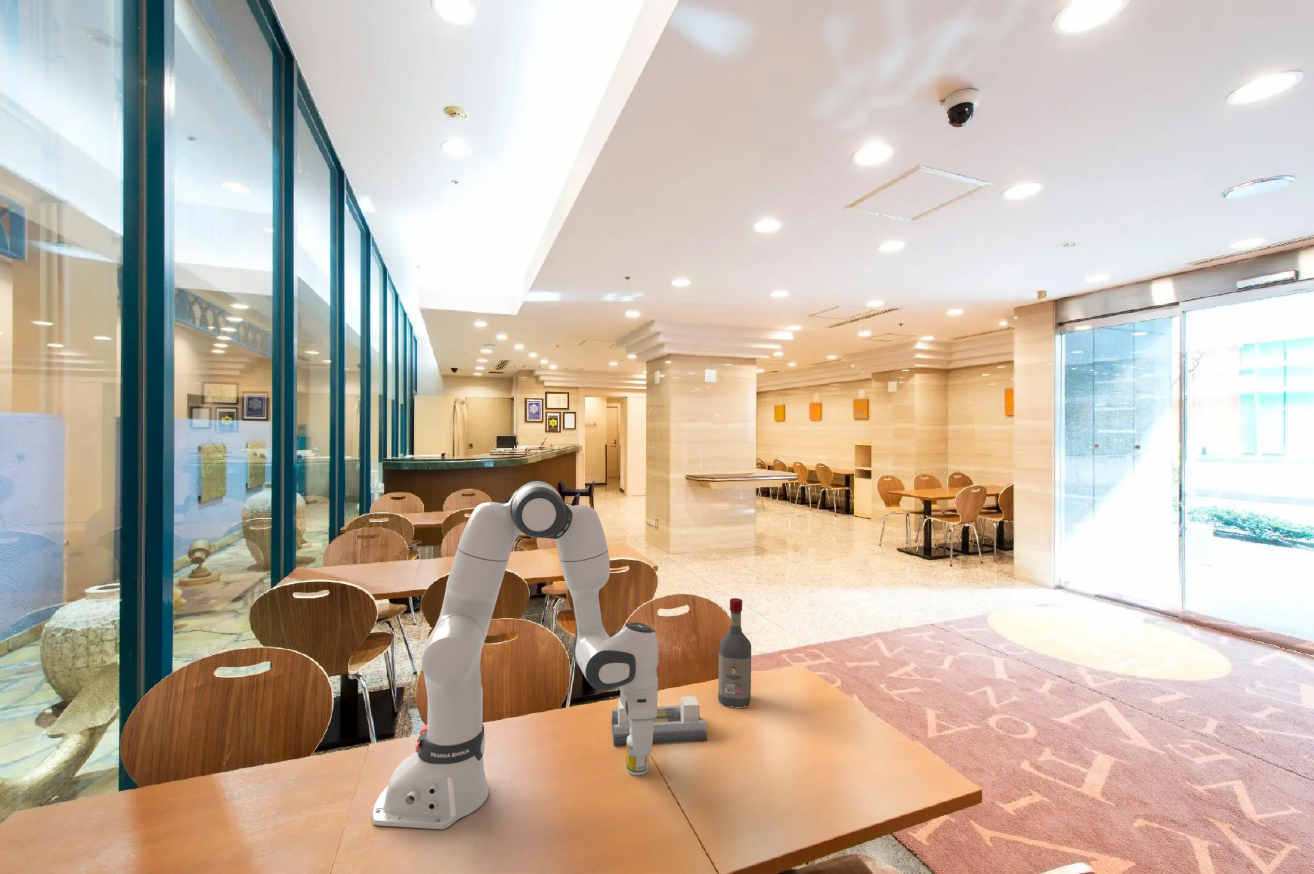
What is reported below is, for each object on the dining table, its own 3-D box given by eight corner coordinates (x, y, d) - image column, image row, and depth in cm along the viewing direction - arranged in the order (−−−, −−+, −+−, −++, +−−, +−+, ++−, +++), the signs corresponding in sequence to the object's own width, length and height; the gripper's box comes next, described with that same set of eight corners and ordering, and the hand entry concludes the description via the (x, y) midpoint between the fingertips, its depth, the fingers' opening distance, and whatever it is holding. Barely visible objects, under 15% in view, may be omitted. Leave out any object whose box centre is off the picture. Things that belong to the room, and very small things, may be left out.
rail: (613, 745, 134) (614, 729, 134) (611, 721, 146) (611, 706, 146) (707, 740, 138) (707, 724, 138) (697, 716, 150) (697, 702, 150)
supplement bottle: (642, 778, 122) (643, 736, 122) (621, 772, 124) (622, 730, 124) (652, 765, 127) (653, 725, 127) (632, 759, 129) (633, 719, 129)
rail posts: (619, 731, 138) (619, 708, 138) (617, 722, 143) (618, 699, 143) (698, 727, 141) (698, 704, 141) (694, 718, 146) (695, 695, 146)
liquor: (749, 710, 154) (750, 605, 154) (717, 705, 156) (719, 602, 156) (750, 695, 163) (752, 596, 163) (720, 691, 165) (722, 594, 165)
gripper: (622, 674, 135) (621, 729, 135) (629, 716, 115) (628, 780, 115) (647, 673, 136) (646, 728, 136) (658, 714, 116) (657, 778, 116)
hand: (638, 752), depth 125 cm, fingers open, 8 cm apart
